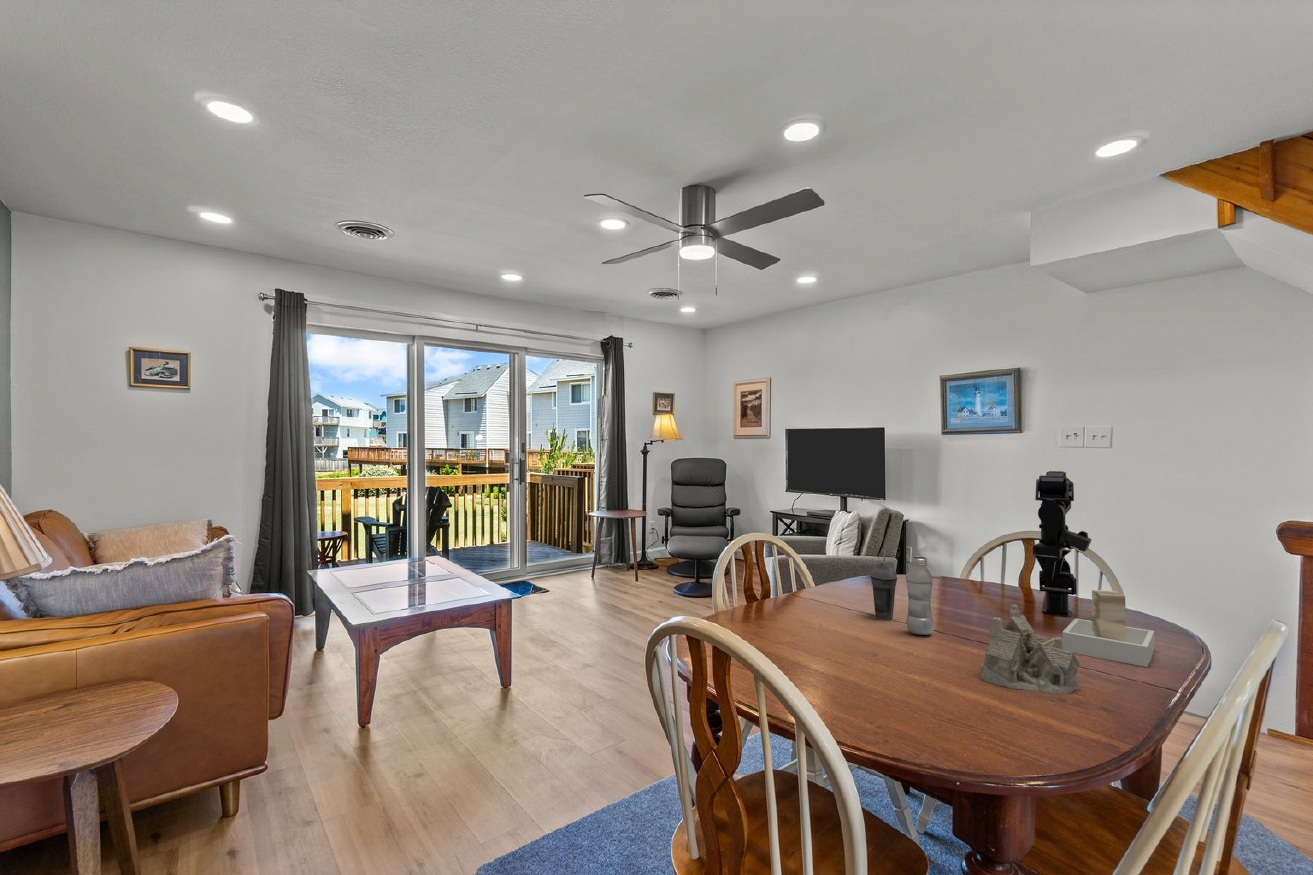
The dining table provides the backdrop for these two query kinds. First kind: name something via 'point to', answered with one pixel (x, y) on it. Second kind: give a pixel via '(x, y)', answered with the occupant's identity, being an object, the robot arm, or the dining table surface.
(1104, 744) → the dining table surface
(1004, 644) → the ceramic cottage
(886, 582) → the beverage cup
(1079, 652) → the box
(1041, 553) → the robot arm
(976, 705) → the dining table surface
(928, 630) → the plastic bottle
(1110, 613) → the birch block
